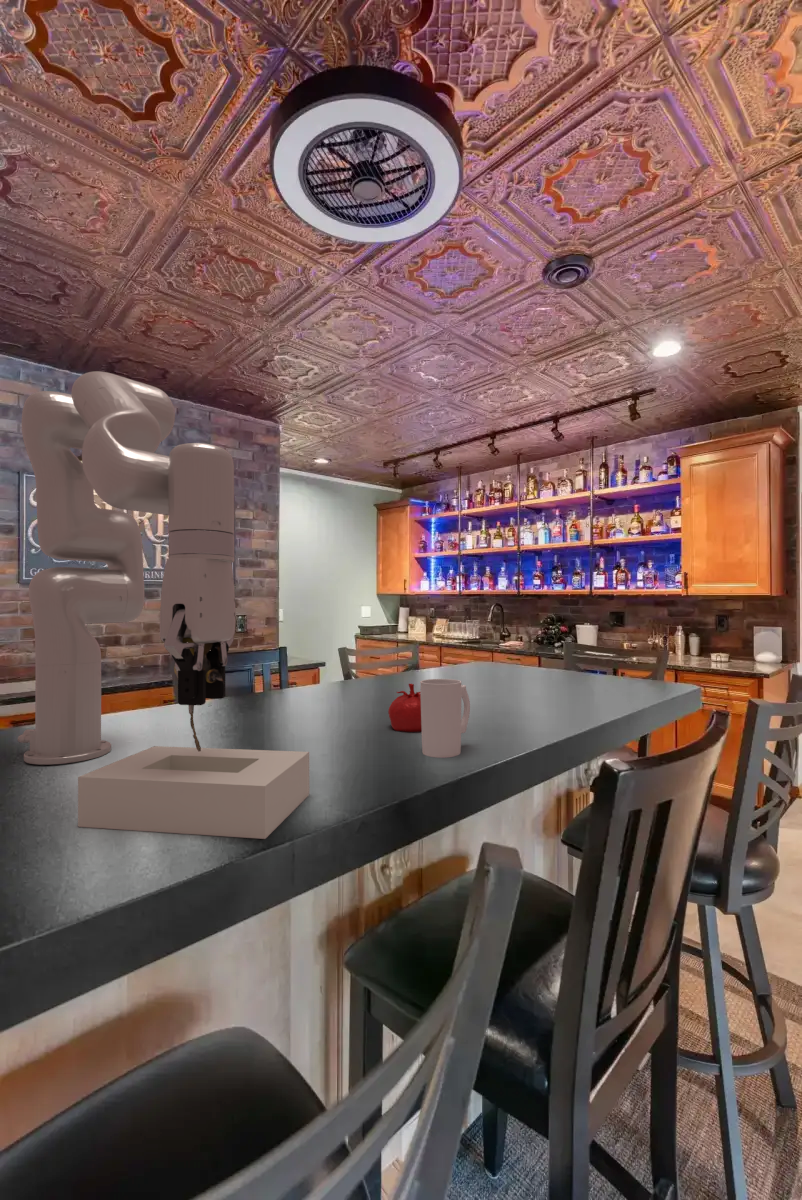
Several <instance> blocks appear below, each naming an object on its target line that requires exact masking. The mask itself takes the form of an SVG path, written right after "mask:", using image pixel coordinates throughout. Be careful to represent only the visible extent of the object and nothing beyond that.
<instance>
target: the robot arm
mask: <svg viewBox="0 0 802 1200" xmlns="http://www.w3.org/2000/svg"><path fill="white" fill-rule="evenodd" d="M71 387H72V388H71V393H65V392H61V391H60V392H59V391H53V390H52V391H51V390H42V391H36V392H33V393H31V394H30V395H29V396H28V397H27V398H26V400H25V401H24V405H23V407H22V410H21V413H22V414H21V433H22V438H23V442H24V446H25V450H26V453H27V457H28V459H29V461H30V464H31V467H32V470H33V474H34V479H35V497H36V498H35V499H36V522H37V523H36V524H37V526H36V527H37V537H38V545H39V547H40V550H41V551H42V553H43V554H45V556H47V557H49V558H51V559H52V558H53V559H58V560H65V561H77V562H78V561H79V562H92V563H93V562H94V563H104V564H106V565H107V567H108V569H105V568H102V569H101V568H92V567H89V568H88V567H72V566H60V567H59V566H56V567H51V568H50V567H49V568H45V569H42V570H40V571H39V572H37V573H36V574H34V576H32V578H31V580H30V582H29V585H28V599H29V606H30V611H31V616H32V622H33V631H34V642H35V643H34V644H35V645H34V651H35V652H34V653H35V654H34V655H35V656H34V657H35V658H34V659H35V660H34V661H35V662H34V664H35V682H34V683H35V686H34V687H35V694H34V695H35V704H34V705H35V707H34V708H35V713H34V714H35V716H34V717H35V718H34V719H35V720H34V721H35V725H34V729H33V728H32V729H29V728H28V729H25V730H24V731H23V733H22V734H19V736H17V741H18V743H23V744H28V743H29V749H28V750H27V751H25V752H24V754H23V761H24V763H27V764H31V765H38V766H39V765H40V766H45V765H46V766H47V765H48V766H51V765H53V766H54V765H63V764H73V763H80V762H84V761H89V760H93V759H96V758H99V757H103V756H105V755H107V754H108V753H110V752H111V751H112V743H111V742H109V741H108V740H107V741H106V740H104V739H102V651H101V647H100V644H99V642H98V641H97V639H96V637H94V635H93V634H92V633H91V632H90V630H89V629H88V628H87V627H86V625H90V624H113V623H114V624H117V623H128V622H133V621H134V620H136V619H138V618H139V617H140V615H141V614H142V611H143V609H144V605H145V575H144V557H143V555H144V553H143V552H144V551H143V539H142V532H141V528H140V526H139V524H138V522H137V520H136V519H135V518H134V517H133V516H132V515H131V514H129V513H127V512H126V511H133V512H140V513H141V512H142V513H148V514H149V513H150V514H154V515H155V514H157V515H163V516H168V522H167V523H168V527H167V528H168V546H167V547H168V558H166V562H165V564H164V565H165V566H164V571H163V576H162V585H161V593H160V594H161V596H160V609H159V639H160V640H161V641H162V642H163V643H164V644H163V646H164V649H165V650H166V651H167V652H168V653H169V654H170V655H171V657H172V659H173V661H174V662H175V663H174V667H175V669H176V670H177V671H178V678H177V703H178V705H180V706H188V705H194V706H203V705H205V704H206V702H207V701H206V699H207V700H208V699H212V700H213V699H216V700H217V699H218V700H221V699H224V698H225V697H226V666H227V663H228V655H227V654H228V652H229V648H230V647H231V645H232V644H233V642H234V638H235V637H234V635H235V633H236V594H235V582H234V572H233V565H232V563H235V467H234V466H235V465H234V464H235V463H234V459H233V456H232V454H231V453H230V452H229V451H228V450H226V449H225V448H223V447H220V446H217V445H214V444H209V443H201V442H190V443H187V442H186V443H182V444H178V445H176V446H174V447H173V448H172V449H171V450H170V451H169V454H168V455H165V454H159V453H155V452H156V451H157V449H158V448H159V447H160V444H161V442H164V441H165V439H167V438H168V437H169V436H170V434H171V432H172V431H173V428H174V426H175V419H176V413H175V408H174V404H173V401H172V400H171V398H170V397H169V395H168V394H167V393H166V392H165V391H163V389H161V388H158V387H156V386H153V385H150V384H146V383H144V382H141V381H137V380H134V379H132V378H131V379H130V378H127V377H124V376H121V375H117V374H115V373H110V372H107V371H106V372H105V371H101V370H99V371H97V370H96V371H89V372H85V373H83V374H81V375H80V376H78V377H77V378H76V379H75V381H74V382H73V384H72V386H71ZM71 449H77V450H81V460H80V459H79V458H78V457H77V455H75V454H74V452H73V451H72V450H71ZM94 492H95V494H96V495H97V496H98V497H99V498H100V499H101V500H102V501H103V502H104V503H106V505H109V506H111V507H113V508H116V509H119V510H115V509H109V508H100V507H97V505H96V503H95V494H94ZM121 510H126V511H125V512H124V511H121ZM186 638H192V640H193V641H194V642H195V643H188V642H187V643H186ZM205 643H214V644H213V651H212V650H210V651H209V652H208V653H207V654H206V658H207V659H208V660H210V665H211V669H216V670H218V672H219V673H220V674H222V673H223V677H222V679H223V681H224V684H223V682H221V681H219V680H216V681H215V682H213V683H209V682H207V681H206V670H201V669H202V663H203V652H204V644H205ZM190 649H194V656H193V654H192V652H191V651H190Z"/></svg>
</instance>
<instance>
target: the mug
mask: <svg viewBox="0 0 802 1200" xmlns="http://www.w3.org/2000/svg"><path fill="white" fill-rule="evenodd" d="M419 682H420V685H419V686H420V691H419V692H420V694H421V727H422V731H421V748H422V749H421V751H422V754H423V755H424V756H427V757H430V758H439V759H440V758H442V759H444V758H452V757H456V756H459V755H460V754H461V753H462V752H461V751H462V734H465V733H466V732H467V728H468V724H469V720H470V719H469V718H470V713H471V703H470V702H471V701H470V697H469V694H468V691H467V685H466V684H462V681H461V680H459V679H454V678H429V679H424V680H423V679H422V680H420V681H419ZM462 701H463V713H462Z"/></svg>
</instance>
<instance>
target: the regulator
mask: <svg viewBox="0 0 802 1200" xmlns="http://www.w3.org/2000/svg"><path fill="white" fill-rule="evenodd" d="M186 643H195V642H194V641H193V640H192V638H186ZM213 644H214V643H205V644H204V652H203V663H202V669H201V670H206V681H207V682H209V683H213V682H215V681H216V680H219V681H221V682H223V684H224V681H223V679H222V677H223V673H222V674H220V673H219V672H218V670H216V669H211V665H210V660H208V659H207V658H206V654H207V653H208V652H209V651H211V650H212V651H213ZM190 651H191V652H192V654H193V656H194V649H190ZM173 671H174V674H175V675H176V678H177V679H178V671H177V670H176V669H175V666H173ZM187 706H188V714H189V715H190V720H189V721H190V722H189V723H190V728H191V730H192V732H193V734H192V737H193V739H194V745H195V748H197V750H198V751H201V748H202V746H201V745H200V741H199V738H198V736H197V732H196V728H195V722H194V713H195V711H194V710H195V708H194V707H195V705H187Z"/></svg>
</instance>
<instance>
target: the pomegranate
mask: <svg viewBox="0 0 802 1200" xmlns="http://www.w3.org/2000/svg"><path fill="white" fill-rule="evenodd" d="M408 687H409V694H408V693H407V692H406V691H404V690H400V691H396V693H397V694H402V695H398V696H397V697H396V698H395V699H394V700H393V701H392V702H391V704H390V705H389V707H388V711H387V712H388V718H389V720H390V724H391V727H392V729H393V730H394V731H397V732H405V733H406V732H407V733H413V732H415V733H418V732H419V733H420V732H421V733H422V727H421V694H420V691H418V692H417V691H416V692H415V688H414V687H415V685H414V683H408Z"/></svg>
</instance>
